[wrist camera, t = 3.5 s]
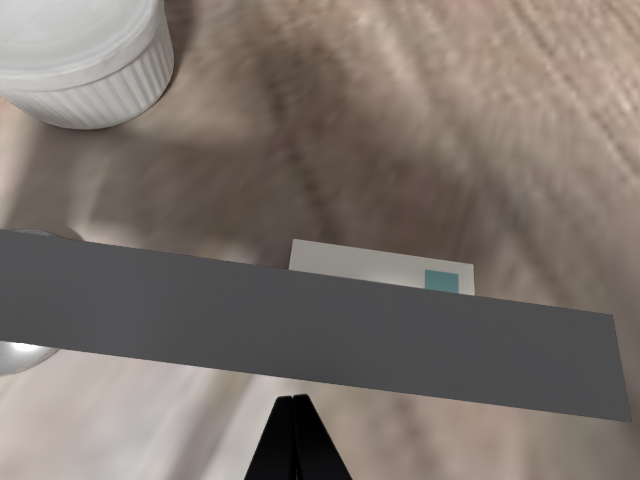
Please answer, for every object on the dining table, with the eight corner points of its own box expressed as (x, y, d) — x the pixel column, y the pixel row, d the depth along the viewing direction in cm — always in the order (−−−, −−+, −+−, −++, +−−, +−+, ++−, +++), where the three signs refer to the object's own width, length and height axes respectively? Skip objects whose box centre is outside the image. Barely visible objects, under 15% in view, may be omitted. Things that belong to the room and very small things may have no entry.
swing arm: (-202, 329, 10) (-560, 315, 6) (-129, 216, 12) (-379, 137, 7) (520, 422, 11) (667, 469, 7) (512, 305, 12) (629, 282, 8)
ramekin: (24, 9, 22) (-55, -91, 17) (193, 12, 23) (166, -81, 18) (-17, 150, 18) (-133, 75, 13) (185, 145, 19) (147, 75, 14)
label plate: (468, 266, 18) (474, 264, 18) (472, 381, 16) (478, 382, 16) (293, 241, 18) (293, 238, 17) (275, 355, 16) (274, 355, 15)
